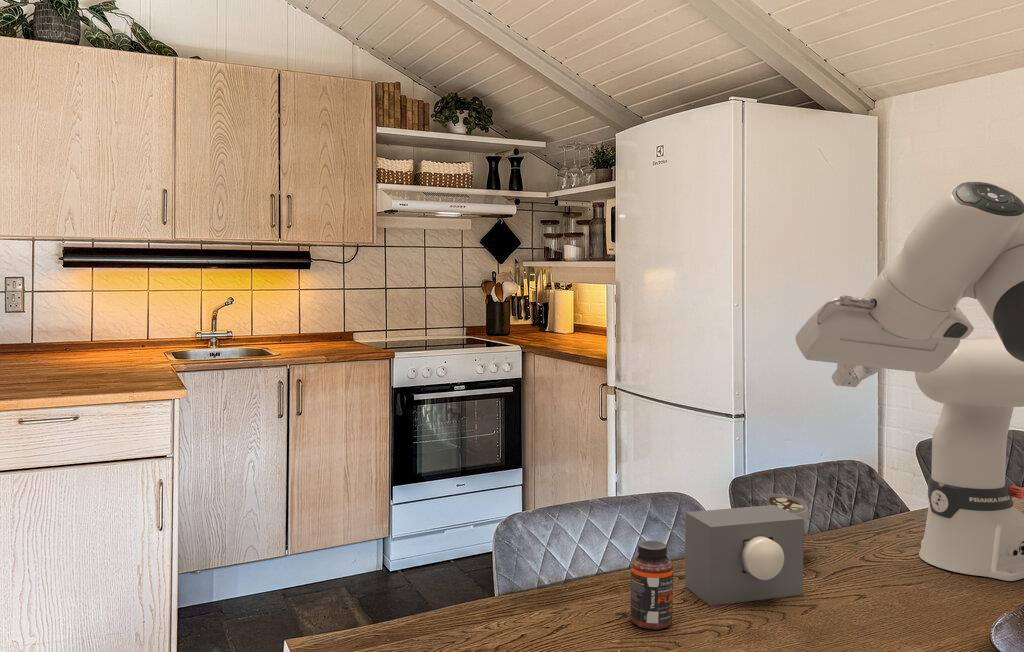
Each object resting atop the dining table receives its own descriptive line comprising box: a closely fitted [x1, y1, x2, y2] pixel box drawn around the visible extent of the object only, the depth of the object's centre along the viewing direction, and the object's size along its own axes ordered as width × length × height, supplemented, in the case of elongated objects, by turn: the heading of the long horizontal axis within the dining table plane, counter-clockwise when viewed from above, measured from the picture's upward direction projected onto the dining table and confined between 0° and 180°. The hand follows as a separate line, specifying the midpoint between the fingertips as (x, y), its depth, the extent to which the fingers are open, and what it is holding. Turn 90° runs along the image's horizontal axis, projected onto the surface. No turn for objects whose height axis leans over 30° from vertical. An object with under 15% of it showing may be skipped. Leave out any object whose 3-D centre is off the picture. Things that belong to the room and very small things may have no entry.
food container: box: [767, 493, 810, 527], centre depth 138 cm, size 12×6×10 cm, turn 168°
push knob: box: [742, 536, 784, 580], centre depth 121 cm, size 6×8×6 cm
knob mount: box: [684, 505, 805, 607], centre depth 124 cm, size 16×8×12 cm, turn 105°
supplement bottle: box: [630, 540, 674, 631], centre depth 112 cm, size 6×6×11 cm
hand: (842, 383), depth 103 cm, fingers closed
